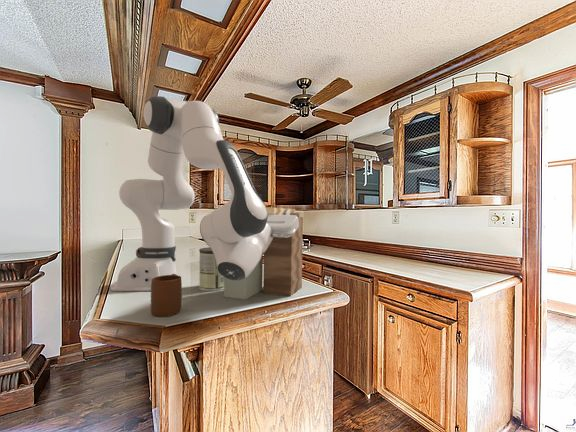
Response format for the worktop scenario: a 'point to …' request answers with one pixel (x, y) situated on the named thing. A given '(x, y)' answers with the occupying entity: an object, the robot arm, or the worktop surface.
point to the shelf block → (245, 284)
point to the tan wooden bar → (278, 211)
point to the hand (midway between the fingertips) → (273, 211)
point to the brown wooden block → (284, 263)
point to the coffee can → (209, 271)
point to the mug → (166, 295)
